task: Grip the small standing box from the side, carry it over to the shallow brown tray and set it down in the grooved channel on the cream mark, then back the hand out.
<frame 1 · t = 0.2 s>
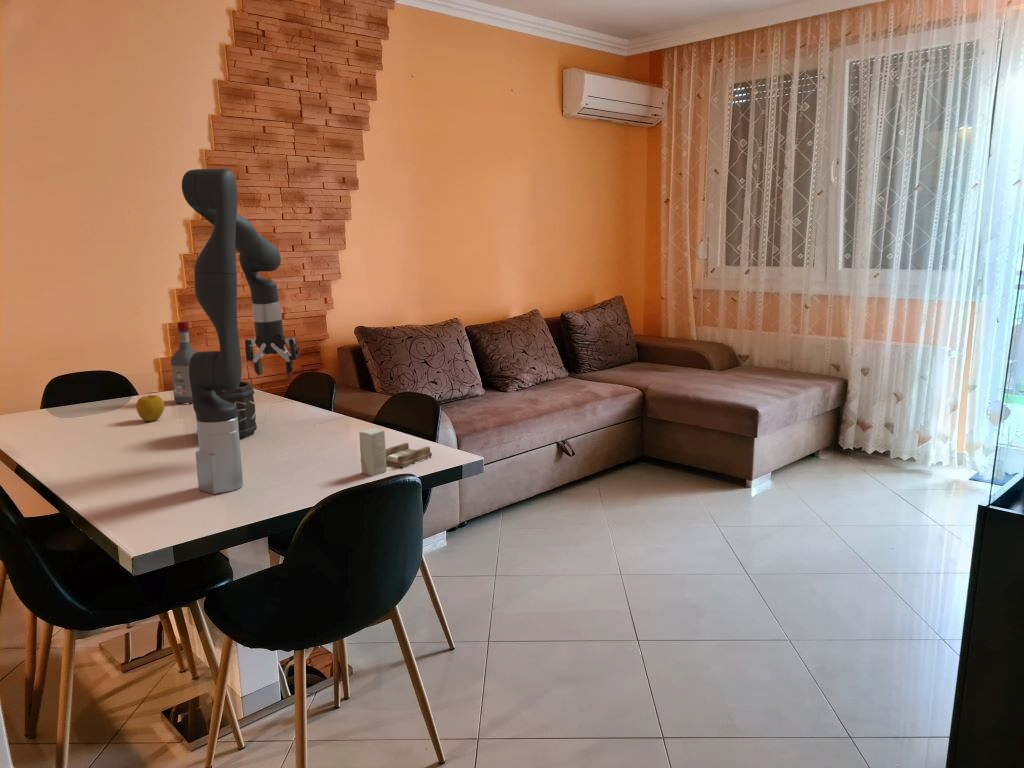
hand: (274, 374, 211), 22 cm above the table, tool pointing down, fingers open, 8 cm apart
box: (374, 473, 192), on the table
liquor: (189, 402, 281), on the table
apple: (151, 421, 250), on the table
shallow brown tray: (403, 459, 203), on the table
dark ribbed cylinder: (228, 436, 230), on the table
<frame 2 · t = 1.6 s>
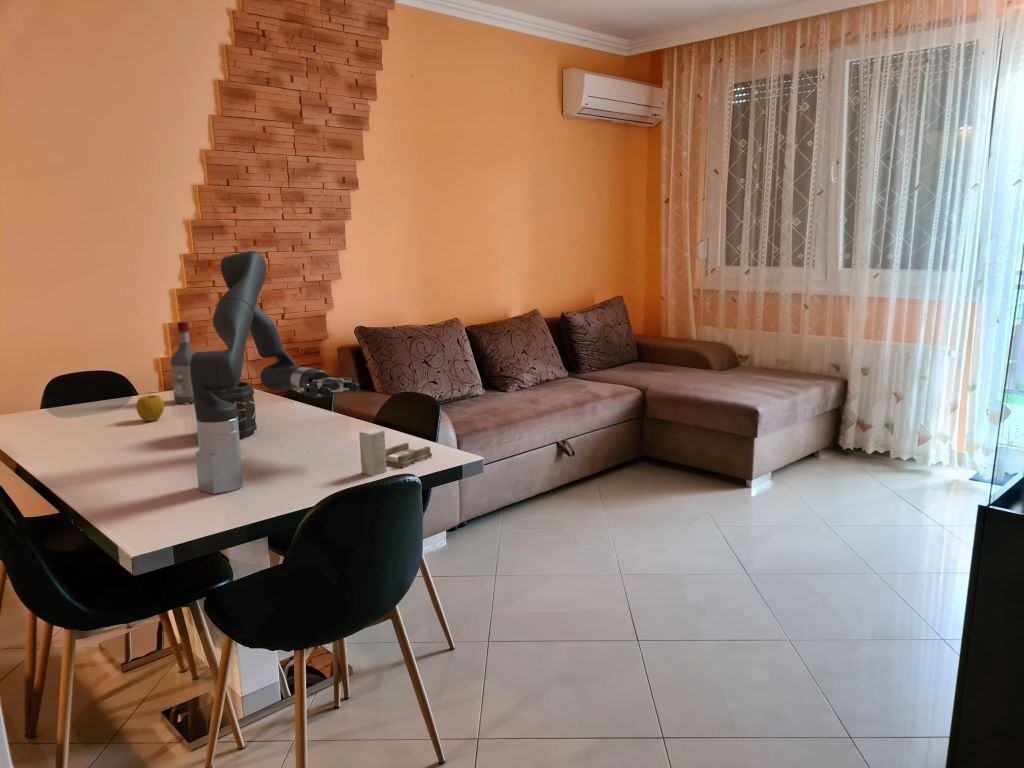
hand: (344, 390, 195), 20 cm above the table, tool horizontal, fingers open, 8 cm apart
nothing on the table moved.
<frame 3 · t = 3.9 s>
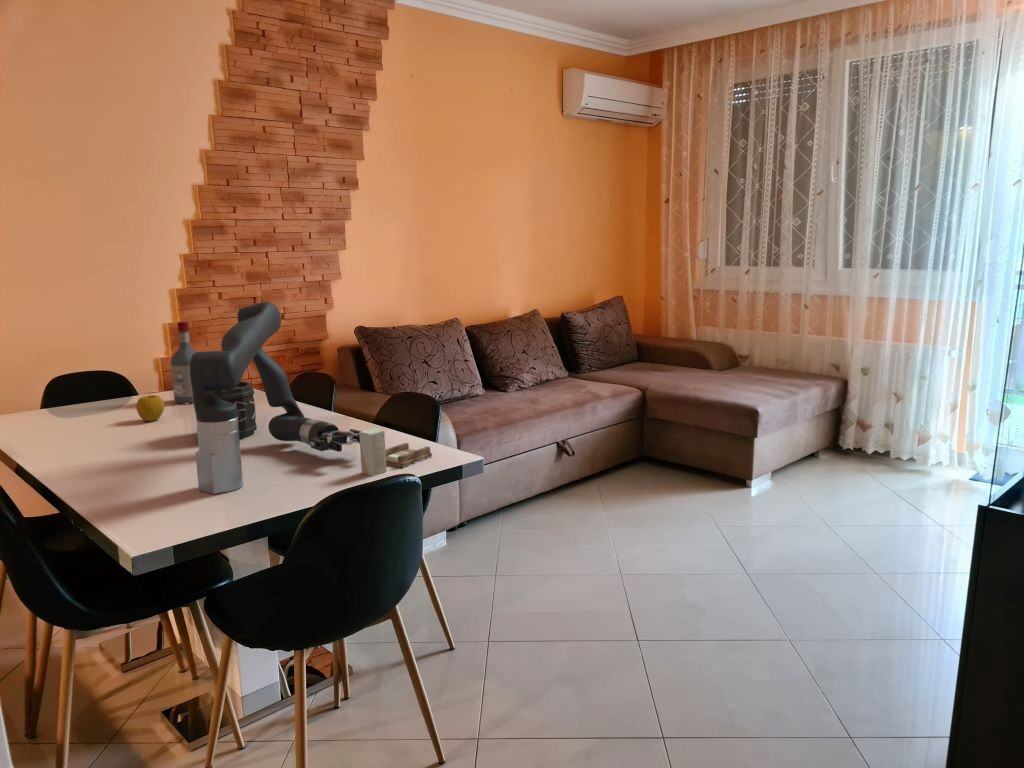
hand: (354, 444, 196), 6 cm above the table, tool horizontal, fingers open, 8 cm apart
nothing on the table moved.
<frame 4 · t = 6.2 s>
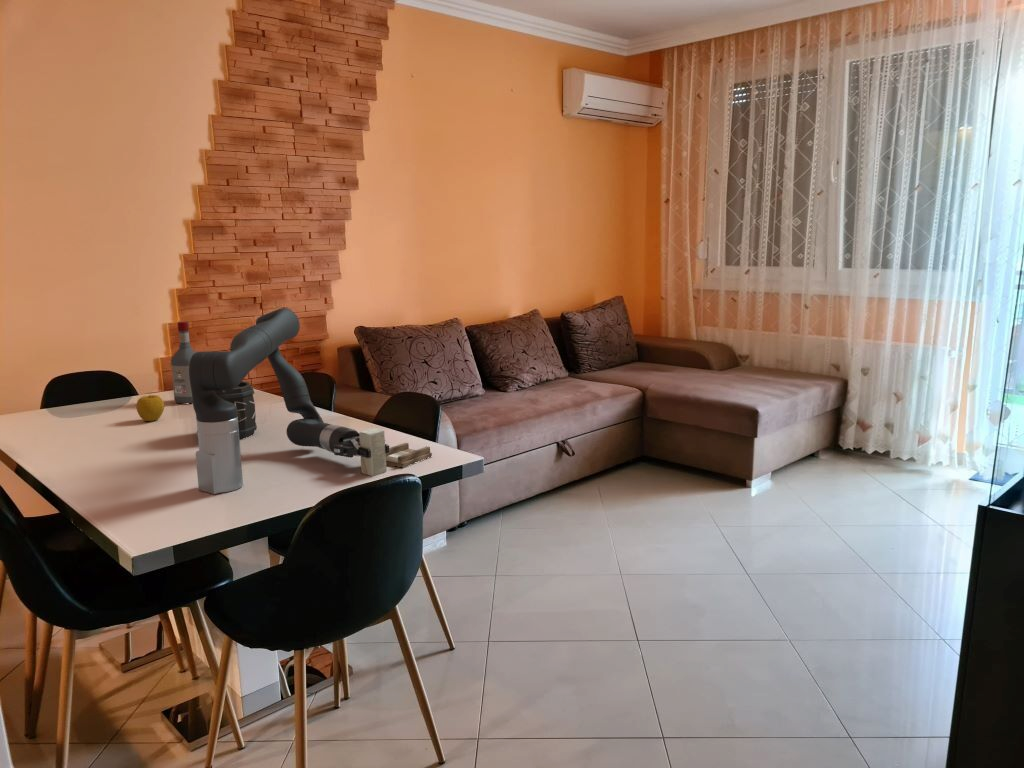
hand: (379, 451, 189), 6 cm above the table, tool horizontal, fingers closed on box, 5 cm apart
box: (374, 473, 192), on the table, touching gripper
everything else where it was.
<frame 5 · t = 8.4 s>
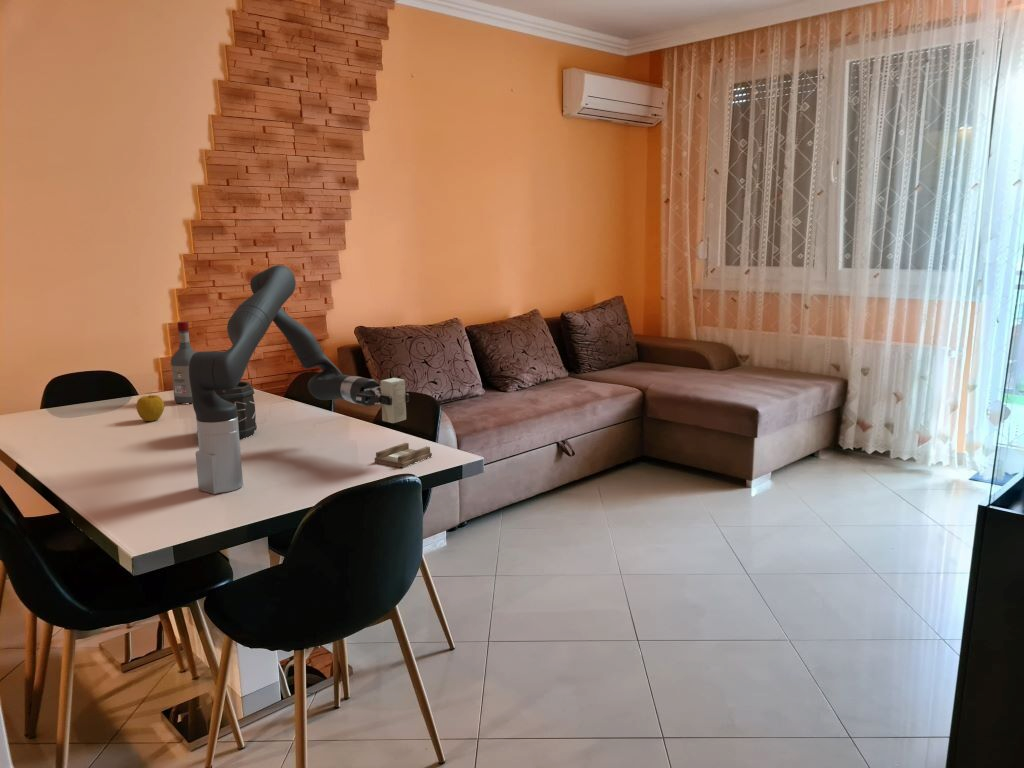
hand: (399, 399, 196), 18 cm above the table, tool horizontal, fingers closed on box, 5 cm apart
box: (394, 421, 198), point 11 cm above the table, touching gripper
everything else where it was.
when the fingers open (8 cm above the table, at t = 10.9 s): box drops 1 cm, resting on shallow brown tray.
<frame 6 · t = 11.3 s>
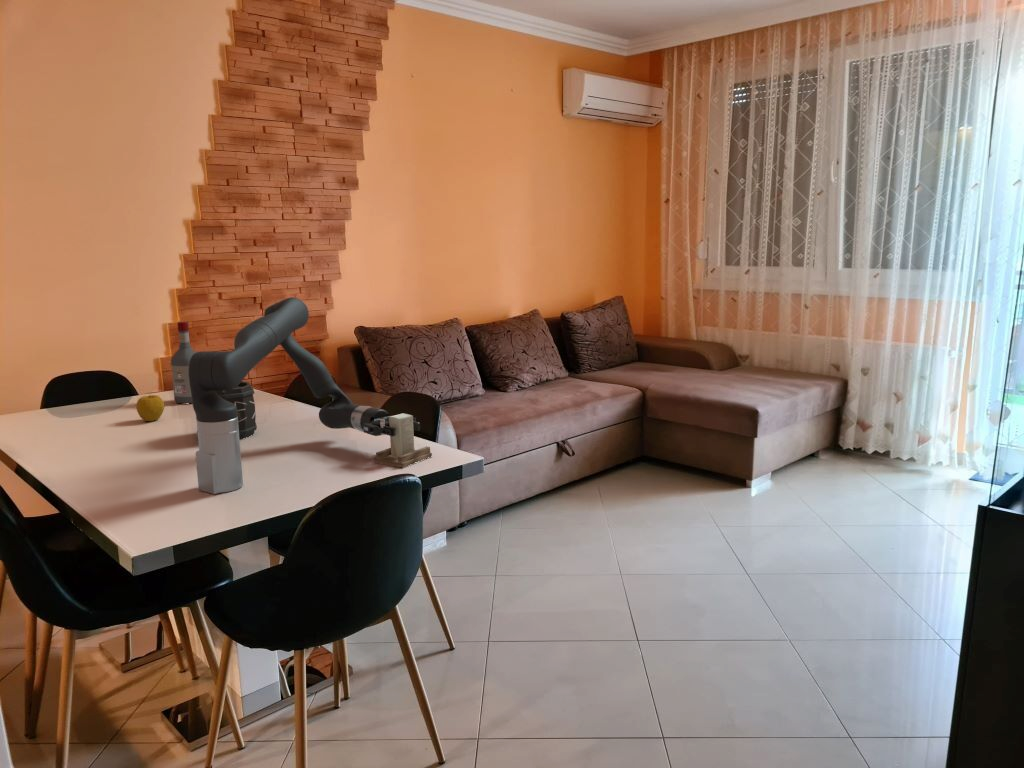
hand: (407, 429, 200), 9 cm above the table, tool horizontal, fingers open, 8 cm apart
box: (402, 455, 203), point 1 cm above the table, touching shallow brown tray
everything else where it was.
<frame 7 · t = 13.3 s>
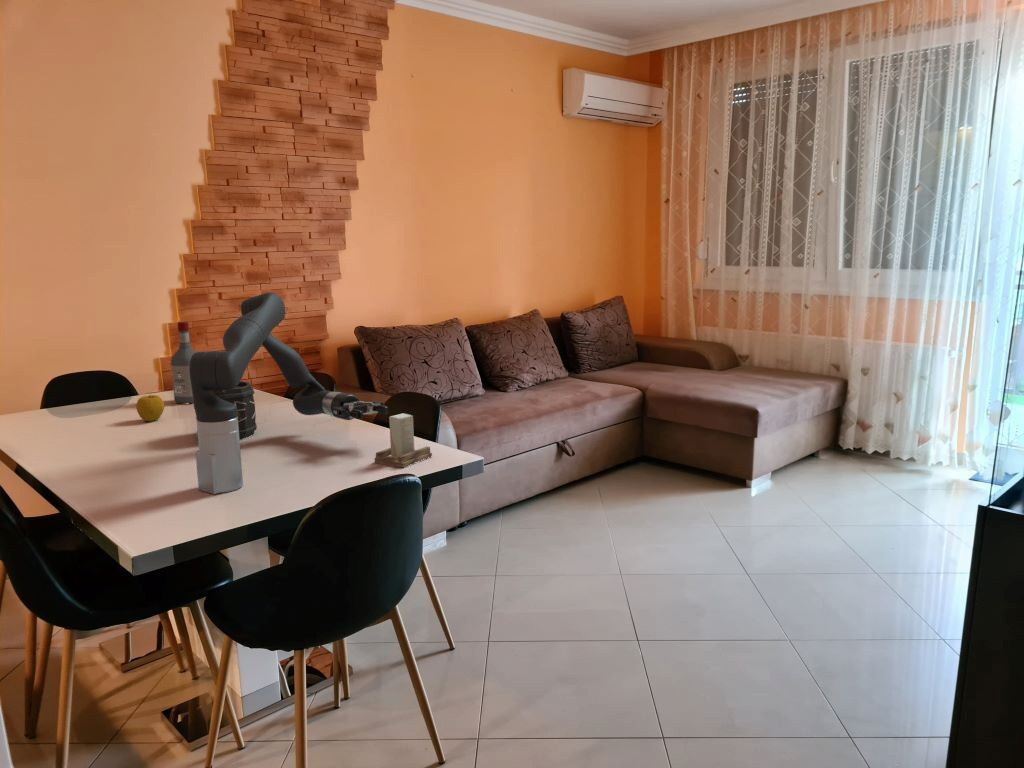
hand: (374, 412, 208), 12 cm above the table, tool horizontal, fingers open, 8 cm apart
nothing on the table moved.
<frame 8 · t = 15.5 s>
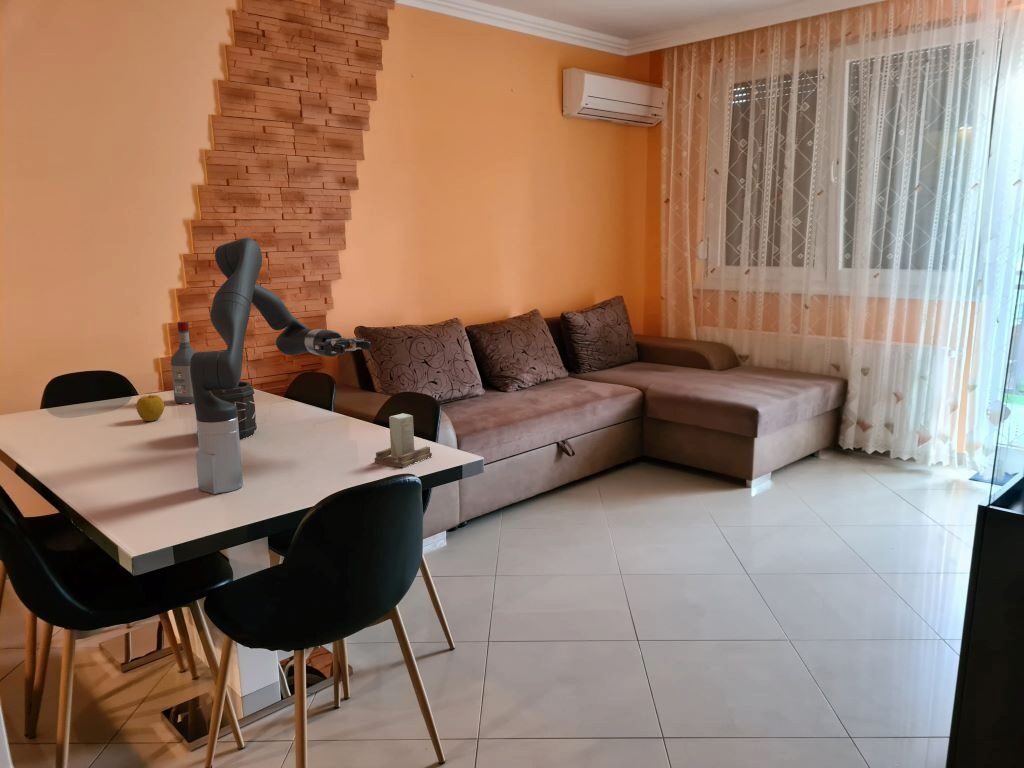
hand: (357, 347, 204), 30 cm above the table, tool horizontal, fingers open, 8 cm apart
nothing on the table moved.
at the end: box 0.2 cm off-centre on the shallow brown tray, point 1.1 cm above the shallow brown tray's base; box tilted 0°; the gripper is holding nothing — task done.
